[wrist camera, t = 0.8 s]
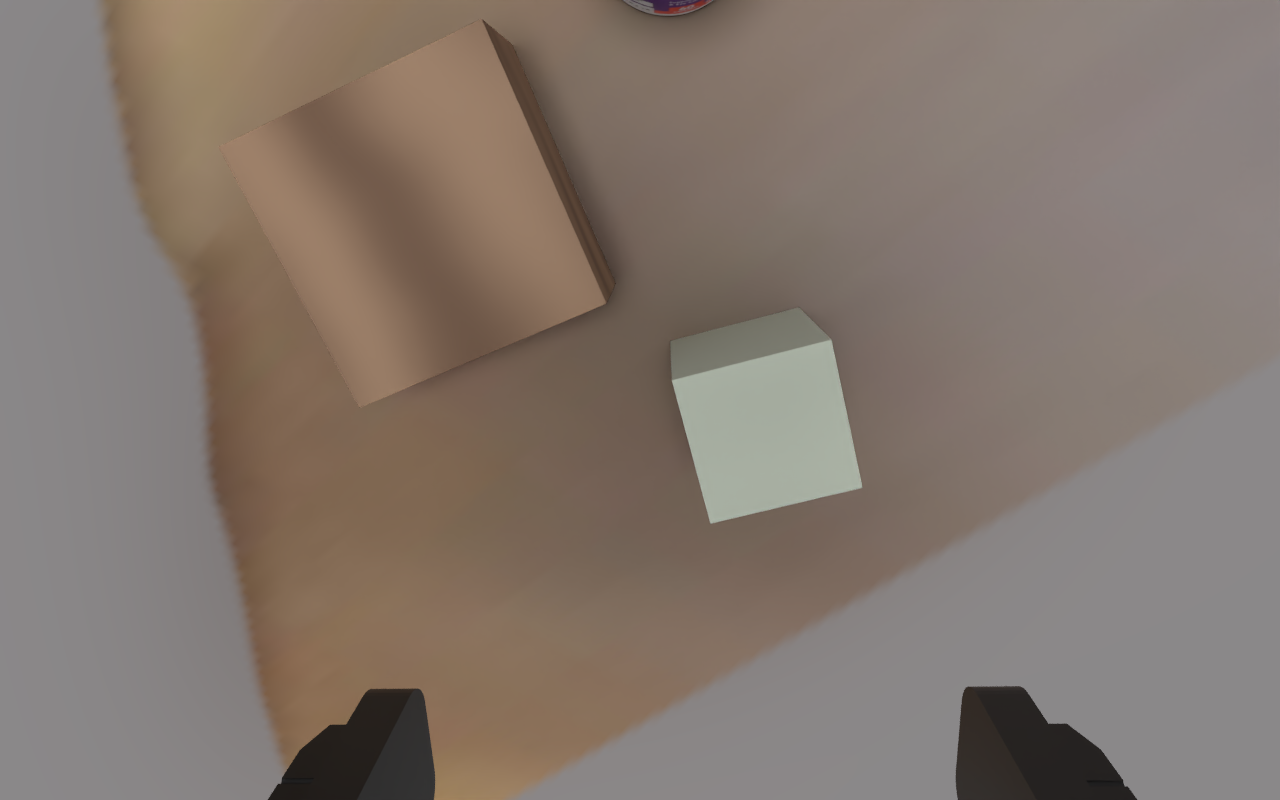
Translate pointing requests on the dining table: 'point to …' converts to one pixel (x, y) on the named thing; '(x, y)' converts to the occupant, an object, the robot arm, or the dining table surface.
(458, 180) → the walnut block
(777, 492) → the sage cube
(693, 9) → the pill bottle
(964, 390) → the dining table surface
